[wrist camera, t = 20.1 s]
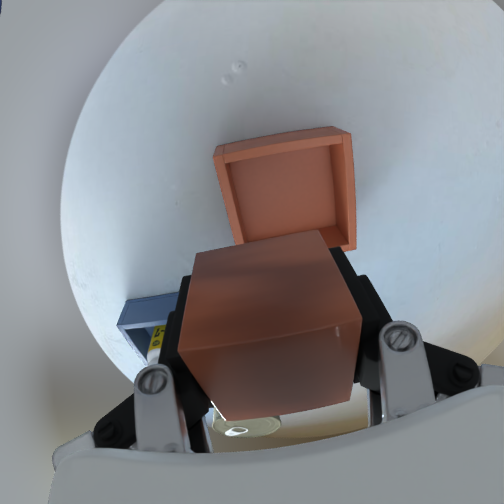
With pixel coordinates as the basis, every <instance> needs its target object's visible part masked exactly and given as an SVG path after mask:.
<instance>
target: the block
mask: <svg viewBox="0 0 504 504" xmlns="http://www.w3.org/2000/svg"><path fill="white" fill-rule="evenodd" d="M361 326H362V316H361V314H360V312H359V309H358V307H357V305H356V303H355V301H354V299H353V297H352V295H351V293H350V291H349V289H348V287H347V285H346V283H345V281H344V279H343V277H342V275H341V273H340V271H339V269H338V267H337V265H336V263H335V261H334V259H333V257H332V255H331V253H330V251H329V249H328V247H327V245H326V244H325V242H324V240H323V238H322V236H321V234H320V232H319V231H318V230H317V229H316V230H311V231H306V232H301V233H295V234H290V235H285V236H280V237H275V238H270V239H265V240H259V241H254V242H249V243H244V244H239V245H234V246H229V247H224V248H219V249H214V250H209V251H204V252H199V253H196V257H195V261H194V266H193V271H192V275H191V280H190V285H189V290H188V295H187V300H186V305H185V311H184V316H183V322H182V327H181V333H180V339H179V344H178V353H179V354H180V356H181V358H182V359H183V361H184V362H185V364H186V365H187V367H188V368H189V370H190V371H191V373H192V374H193V376H194V377H195V379H196V380H197V382H198V383H199V385H200V386H201V388H202V389H203V391H204V392H205V394H206V395H207V396H208V398H209V399H210V401H211V402H212V403H213V405H214V406H215V407H216V409H217V410H218V412H219V413H220V414H221V416H222V417H223V418H224V420H225V421H238V420H248V419H257V418H264V417H272V416H278V415H285V414H291V413H296V412H301V411H307V410H312V409H316V408H321V407H325V406H330V405H334V404H338V403H342V402H346V401H349V400H350V396H351V391H352V385H353V380H354V374H355V369H356V362H357V356H358V349H359V342H360V334H361Z"/></svg>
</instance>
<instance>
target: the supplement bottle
mask: <svg viewBox="0 0 504 504" xmlns="http://www.w3.org/2000/svg"><path fill="white" fill-rule="evenodd" d="M165 327H166V325H159V326H155V327H154V331H153V335H152V338H151V342H150V346H149V350H148V354H147V361H148V365H147V366H149V365H151V364H158V359H159V354H160V349H161V345H162V340H163V336H164V331H165Z"/></svg>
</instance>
